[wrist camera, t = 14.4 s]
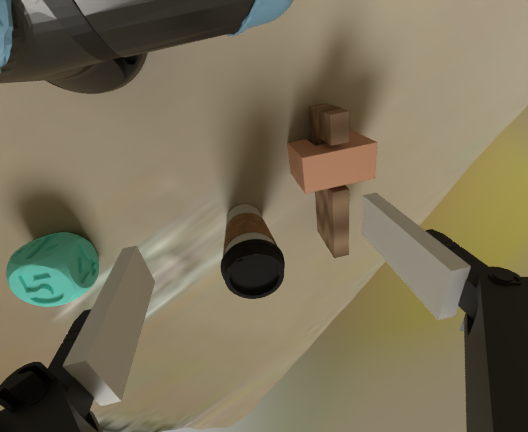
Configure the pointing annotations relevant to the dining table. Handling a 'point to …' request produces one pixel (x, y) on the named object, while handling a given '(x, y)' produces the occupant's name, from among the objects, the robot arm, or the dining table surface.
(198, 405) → the dining table surface
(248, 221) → the coffee cup
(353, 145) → the notched block
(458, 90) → the dining table surface
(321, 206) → the slotted board
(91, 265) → the decorative dice
